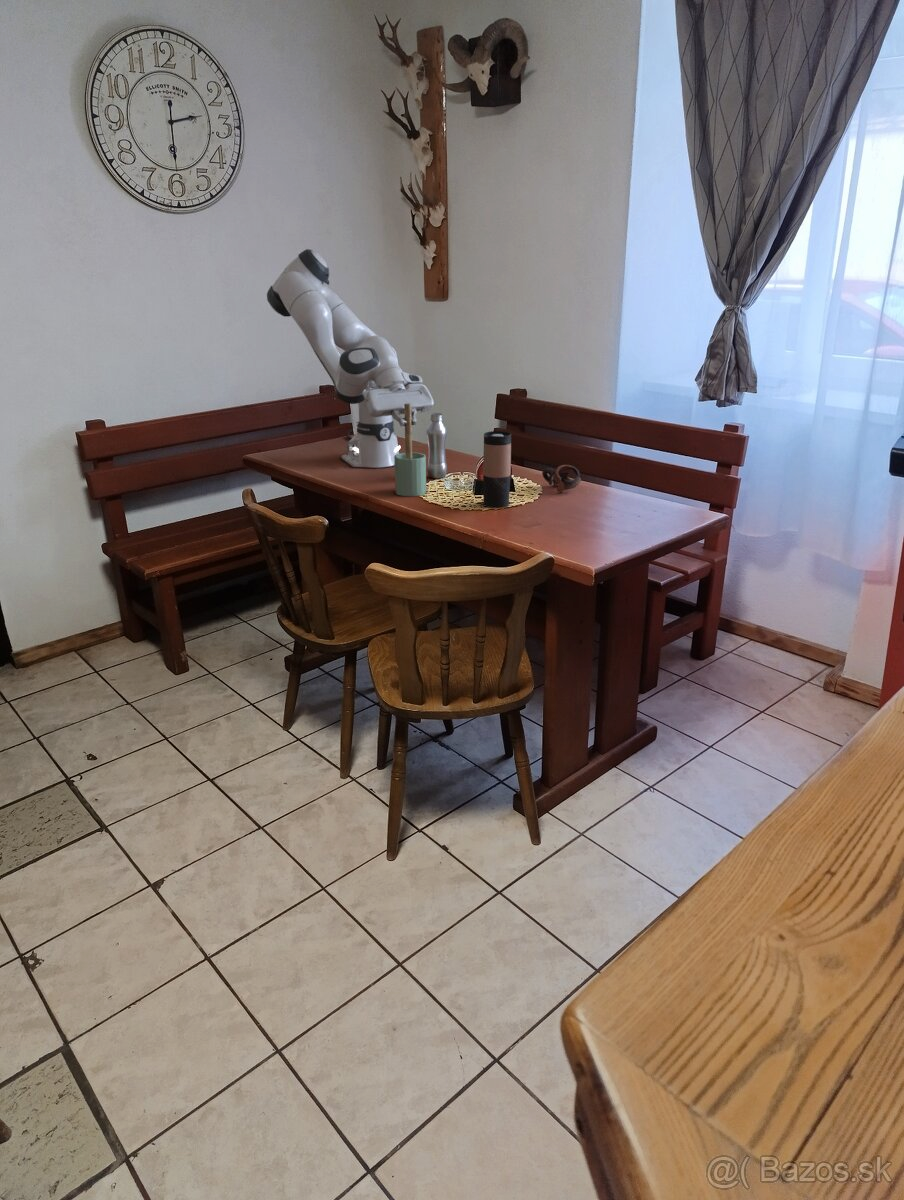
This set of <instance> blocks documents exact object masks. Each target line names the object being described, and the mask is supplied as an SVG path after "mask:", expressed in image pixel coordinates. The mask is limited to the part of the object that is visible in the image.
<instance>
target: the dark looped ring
mask: <svg viewBox="0 0 904 1200" xmlns="http://www.w3.org/2000/svg"><path fill="white" fill-rule="evenodd" d="M572 472H574V473H575V475H576V477H575V478H573V479H572V478H570V477H568V476H569V474H571V473H572ZM541 474H542V477H543V479H544V480H545V481H546V482H547V483H548V485H549V486H552V485H553V487H556V486H557V488H556V491H557V492H558V493H560V494H562V493H563V492H564V491H567V490H570V489H574V488H576V487H577V486H578V485H579V484H580V483H581V482H582V479H581V477H580V476H581V473H580V470H579V469H578V468H576V467H575V466H573V465H570V464H562V465H559V466H558V467H556V469H553V468H551V467H546V468H544V469H543V471H542V472H541Z"/></svg>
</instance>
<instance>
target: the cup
mask: <svg viewBox="0 0 904 1200" xmlns="http://www.w3.org/2000/svg"><path fill="white" fill-rule="evenodd" d="M398 453H399V454H396V455H395V456H394V465H393V466H394V487H395V488H394V489H395V491H394V492H395V494H396V495H398V496H402V497H418V496H424V495H425V494H427V455H426V454H425V453H422V452H415V451H414V452H413V451H412V459H406V456H405V452H398Z"/></svg>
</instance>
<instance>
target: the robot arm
mask: <svg viewBox="0 0 904 1200" xmlns="http://www.w3.org/2000/svg"><path fill="white" fill-rule="evenodd" d="M297 255H298V256H296V258H294V259H293V260H292V261H291V262H290V263H289V264H288V265H286V267H285V268H284V269H283V271H282V272H281V273H280V274H279V276H278V277H277V279H276V280H275V281H274V283H273V285H270V286H269V288H268V290H267V292H266V300H267V302H268V303H269V306H270V308H271V309H272V310H273V311H274V312H276V313H277V314H278V315H281V316H282V317H292V319H293V320H294V322H295V324H296V325H297V326H298V327H299V329H300V330H301V331H302V333H303V335H304V337H305V338H306V340H307V342H308V344H309V345H310V347H311V348H312V351H313V353H314V354H315V355H316V357H317V359H318V361H319V362H320V364H321V365H322V367H323V369H324V370H325V371H326V373H327V375H328V377H329V378H330V380H331V381H332V384H333V388H334V389H333V390H334V392H335V395H336V397H337V398H338V400H340V401H341V402H343V403H345V404H350V405H358V406H357V407H358V421H357V422H356V433H355V434H354V435H353V436H352V437H350V434H352V433H353V432H352V429H348V431H347V433H346V438H347V439H348V440H349V441H348V442H347V443H348V444H347V445H346V450H347V453H346V454H345V453H344V454H343V455H341V459H342V460H343V461H344V462H346V463H347V464H348V465H350V466H351V467H353V468H372V469H373V468H374V469H375V468H387V467H392V466H395V465H394V456H395V455H396V454H399V453H400V452H399V450H400V449H401V445H399V444H398V437H397V436H396V435H395V434H394V432H395V424H394V420H395V421H396V422H398V424H399V426H400V427H405V426H406V424H407V421H406V419H405V417H402V416H401V415H405V414H404V404H406V403H410V404H411V416H412V426H416V425H417V423H418V420H417V418H416V417H417V413H427V412H430V411H431V410H432V408H433V407H434V403H435V402H434V399H433V398H434V397H433V396H432V394H431V392H430V390H429V388H428V387H427V386H426V385H425V384H424V383H423V378H422V377H421V376H420V375H416V374H412V373H408V372H406V371H403V369H402V368H401V367H400V365H399V360H398V354H397V352H396V350H395V348H394V347H393V346H391V344H390V342H389V341H388V340H387V339H386V338H384V337H382V336H380V335H377V333H375V332H374V331H373V330H372V329H370V328H369V327H368V326H367V325H365V323H364V322H362V320H360V319H359V318H358V317H357V316H356V314H355V313H354V312H353V310H351V308H349V306H348V305H347V304H346V303H345V302H344V301H343V299H342V298H341V297H339V295H338V294H337V293H335V291H333V290H332V289H331V288H329V287H328V286H329V285H330V281H329V279H330V269H329V266H328V264H327V262H326V260H325V258H323V256H322V255H321V254H320V253H318V252H316V251H314V250H313V249H309V248H307V249H304V250H303V251H300V253H298V254H297ZM327 285H328V286H327ZM338 348H340V349H342V350H343V352H342V353H341V354H340V352H339V350H338ZM393 419H394V420H393Z"/></svg>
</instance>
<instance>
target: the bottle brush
mask: <svg viewBox="0 0 904 1200" xmlns="http://www.w3.org/2000/svg"><path fill="white" fill-rule="evenodd" d="M403 415H404V418H405V419H406V421H407V424H406V426H404V448H405V449H404V451H405V452H404V453H405V456H406V459H412V452H413V425H412V416H411V404H410V403H406V404H404V414H403Z"/></svg>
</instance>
